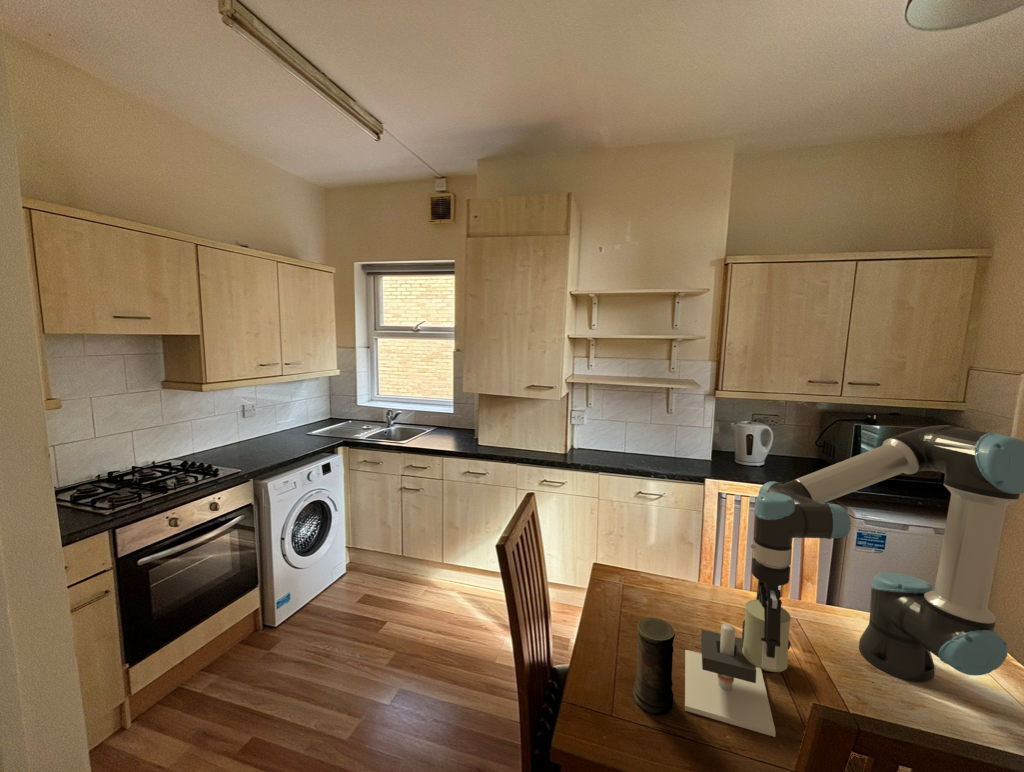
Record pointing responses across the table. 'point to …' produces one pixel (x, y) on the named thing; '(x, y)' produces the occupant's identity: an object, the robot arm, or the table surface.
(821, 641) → the table surface
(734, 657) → the grey square plate
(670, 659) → the container
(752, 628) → the can
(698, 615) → the table surface
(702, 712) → the peg stand
